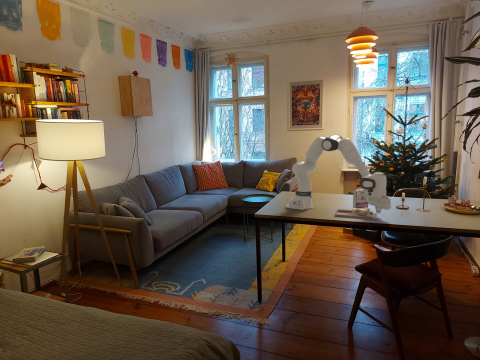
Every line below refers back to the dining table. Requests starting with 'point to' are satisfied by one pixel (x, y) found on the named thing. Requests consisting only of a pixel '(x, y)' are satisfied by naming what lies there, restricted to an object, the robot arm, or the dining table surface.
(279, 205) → the dining table surface
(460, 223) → the dining table surface
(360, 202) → the candy bar box
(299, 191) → the robot arm
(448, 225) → the dining table surface
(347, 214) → the mat
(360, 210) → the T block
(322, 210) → the dining table surface
